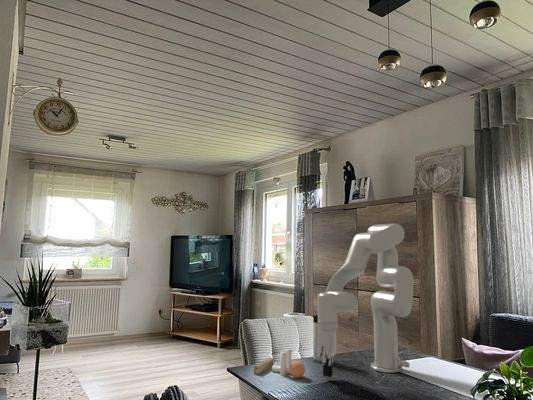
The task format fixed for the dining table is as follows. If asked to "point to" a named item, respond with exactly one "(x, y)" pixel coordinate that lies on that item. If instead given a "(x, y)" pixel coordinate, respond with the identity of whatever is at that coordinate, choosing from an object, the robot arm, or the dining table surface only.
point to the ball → (297, 369)
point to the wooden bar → (263, 366)
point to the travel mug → (315, 339)
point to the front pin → (277, 369)
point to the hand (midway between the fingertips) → (327, 375)
